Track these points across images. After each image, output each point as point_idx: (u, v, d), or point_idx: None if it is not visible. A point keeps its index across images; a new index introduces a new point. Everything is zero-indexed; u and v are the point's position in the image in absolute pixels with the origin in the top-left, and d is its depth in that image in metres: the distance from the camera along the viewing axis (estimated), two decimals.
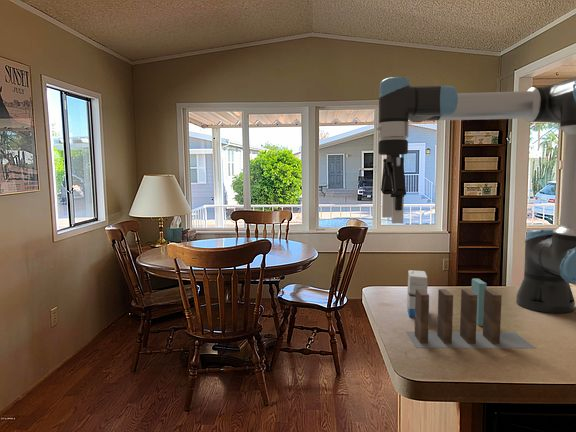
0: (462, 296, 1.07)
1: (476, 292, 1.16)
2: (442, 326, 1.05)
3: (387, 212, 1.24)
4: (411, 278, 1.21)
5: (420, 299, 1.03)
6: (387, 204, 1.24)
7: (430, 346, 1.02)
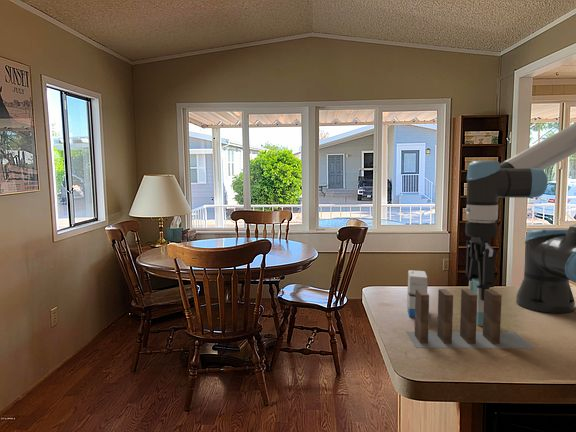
0: (462, 296, 1.07)
1: (476, 292, 1.16)
2: (442, 326, 1.05)
3: None
4: (411, 278, 1.21)
5: (420, 299, 1.03)
6: None
7: (430, 346, 1.02)
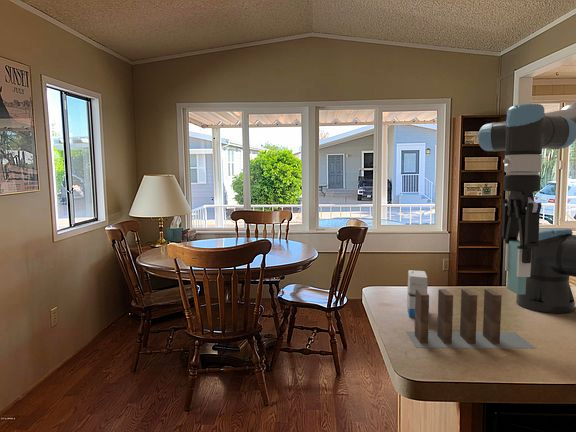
0: (462, 296, 1.07)
1: (515, 255, 1.02)
2: (442, 326, 1.05)
3: None
4: (411, 278, 1.21)
5: (420, 299, 1.03)
6: None
7: (430, 346, 1.02)
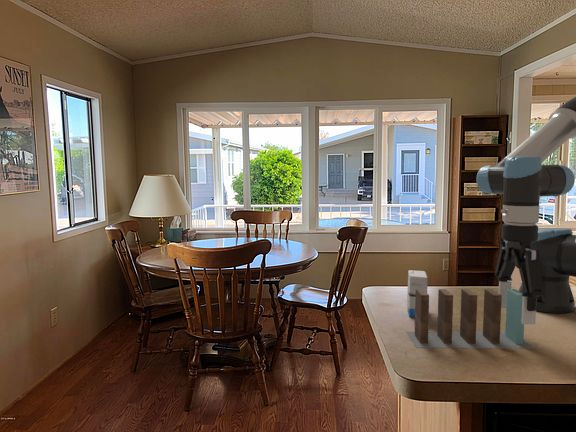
0: (462, 296, 1.07)
1: (513, 304, 1.04)
2: (442, 326, 1.05)
3: (505, 302, 1.10)
4: (411, 278, 1.21)
5: (420, 299, 1.03)
6: (505, 293, 1.10)
7: (430, 346, 1.02)
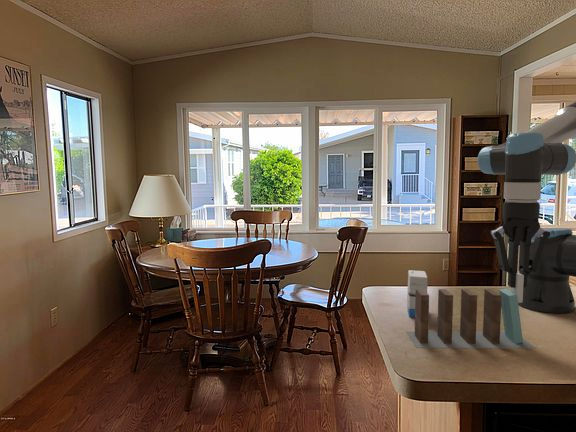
0: (462, 296, 1.07)
1: (507, 305, 1.04)
2: (442, 326, 1.05)
3: None
4: (411, 278, 1.21)
5: (420, 299, 1.03)
6: None
7: (430, 346, 1.02)
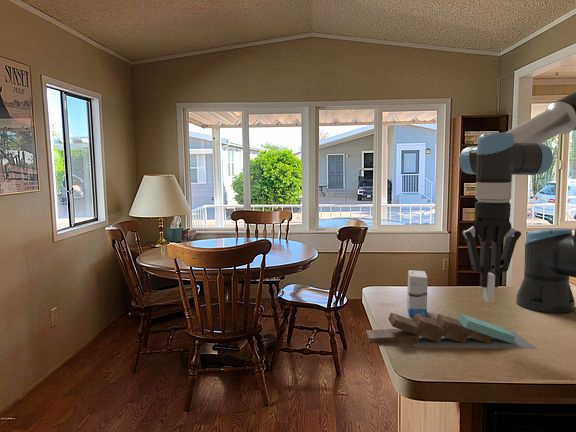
0: None
1: None
2: None
3: None
4: (411, 278, 1.21)
5: None
6: None
7: (430, 346, 1.02)
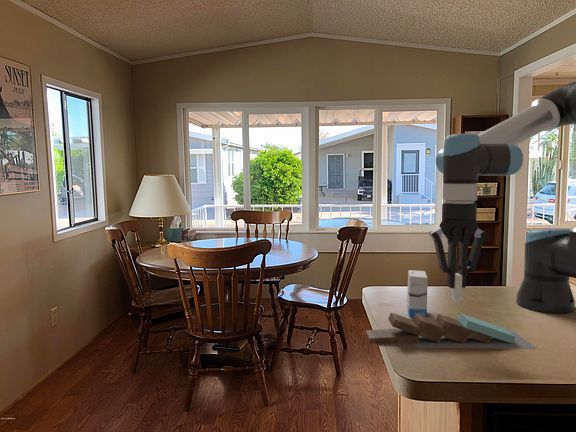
0: None
1: None
2: None
3: None
4: (411, 278, 1.21)
5: None
6: None
7: (430, 346, 1.02)
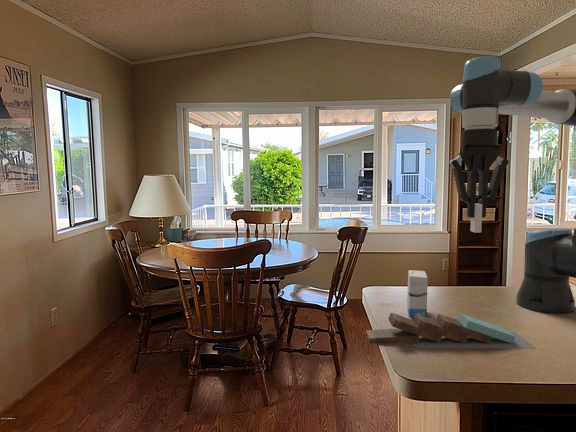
0: None
1: None
2: None
3: None
4: (411, 278, 1.21)
5: None
6: None
7: (430, 346, 1.02)
